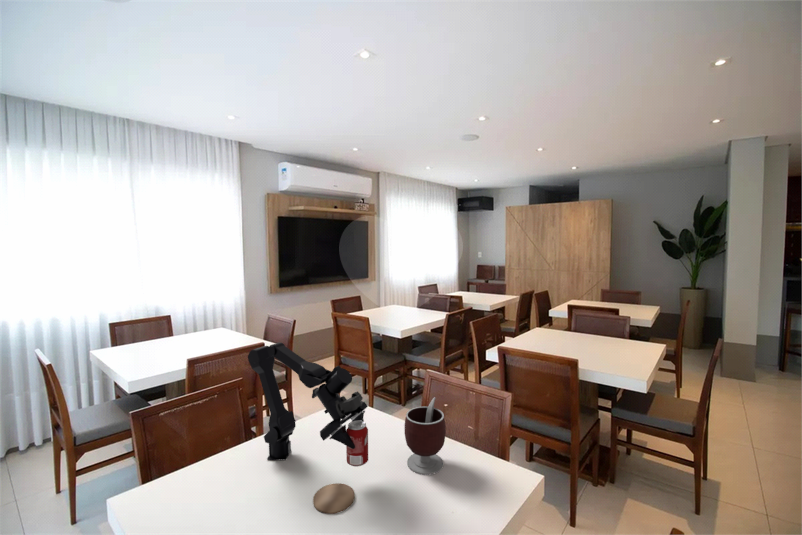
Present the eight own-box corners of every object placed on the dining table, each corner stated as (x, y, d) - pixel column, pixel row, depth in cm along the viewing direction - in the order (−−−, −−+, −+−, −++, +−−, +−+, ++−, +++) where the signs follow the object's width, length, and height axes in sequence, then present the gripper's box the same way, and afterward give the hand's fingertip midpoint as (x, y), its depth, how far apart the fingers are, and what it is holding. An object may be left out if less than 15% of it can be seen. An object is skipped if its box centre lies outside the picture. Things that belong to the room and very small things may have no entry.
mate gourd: (436, 481, 116) (435, 419, 115) (397, 469, 123) (396, 410, 121) (453, 456, 130) (453, 400, 128) (417, 446, 136) (417, 393, 135)
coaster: (307, 513, 103) (307, 510, 102) (319, 485, 115) (319, 482, 114) (350, 514, 102) (350, 511, 102) (357, 486, 114) (357, 483, 114)
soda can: (363, 470, 111) (362, 431, 110) (342, 466, 113) (342, 428, 112) (371, 457, 118) (371, 421, 117) (352, 454, 120) (351, 418, 119)
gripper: (327, 397, 107) (359, 444, 103) (362, 377, 124) (391, 416, 120) (306, 418, 112) (336, 463, 107) (343, 395, 128) (370, 434, 124)
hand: (360, 442), depth 114 cm, fingers closed on soda can, 7 cm apart
